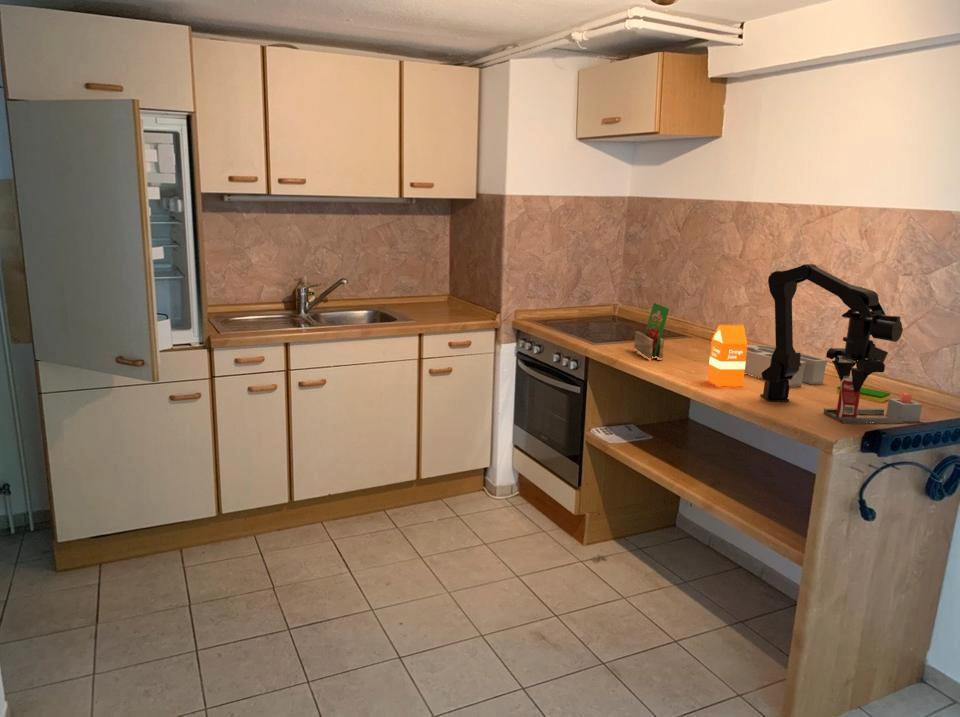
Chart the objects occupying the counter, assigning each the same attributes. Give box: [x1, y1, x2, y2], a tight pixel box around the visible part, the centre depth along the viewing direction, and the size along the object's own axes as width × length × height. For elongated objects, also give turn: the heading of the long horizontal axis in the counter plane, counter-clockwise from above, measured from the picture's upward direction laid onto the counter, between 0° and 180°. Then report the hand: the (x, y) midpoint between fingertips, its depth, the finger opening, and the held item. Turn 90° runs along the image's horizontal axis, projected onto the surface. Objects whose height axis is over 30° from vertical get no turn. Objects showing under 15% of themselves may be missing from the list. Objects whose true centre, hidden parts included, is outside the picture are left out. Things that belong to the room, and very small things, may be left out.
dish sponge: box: [836, 385, 891, 403], centre depth 237 cm, size 7×14×2 cm, turn 41°
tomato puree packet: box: [643, 302, 670, 357], centre depth 283 cm, size 15×1×20 cm, turn 9°
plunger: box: [899, 392, 913, 403], centre depth 213 cm, size 3×3×5 cm
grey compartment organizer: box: [744, 344, 828, 388], centre depth 259 cm, size 17×28×9 cm, turn 27°
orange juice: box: [707, 324, 749, 387], centre depth 244 cm, size 8×9×20 cm
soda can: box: [836, 375, 861, 417], centre depth 210 cm, size 5×5×12 cm
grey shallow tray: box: [823, 408, 904, 424], centre depth 212 cm, size 18×9×2 cm, turn 97°
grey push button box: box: [886, 398, 923, 422], centre depth 213 cm, size 6×6×5 cm
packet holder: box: [633, 330, 665, 359], centre depth 284 cm, size 5×17×8 cm, turn 7°
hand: (850, 389), depth 210 cm, fingers closed on soda can, 5 cm apart
